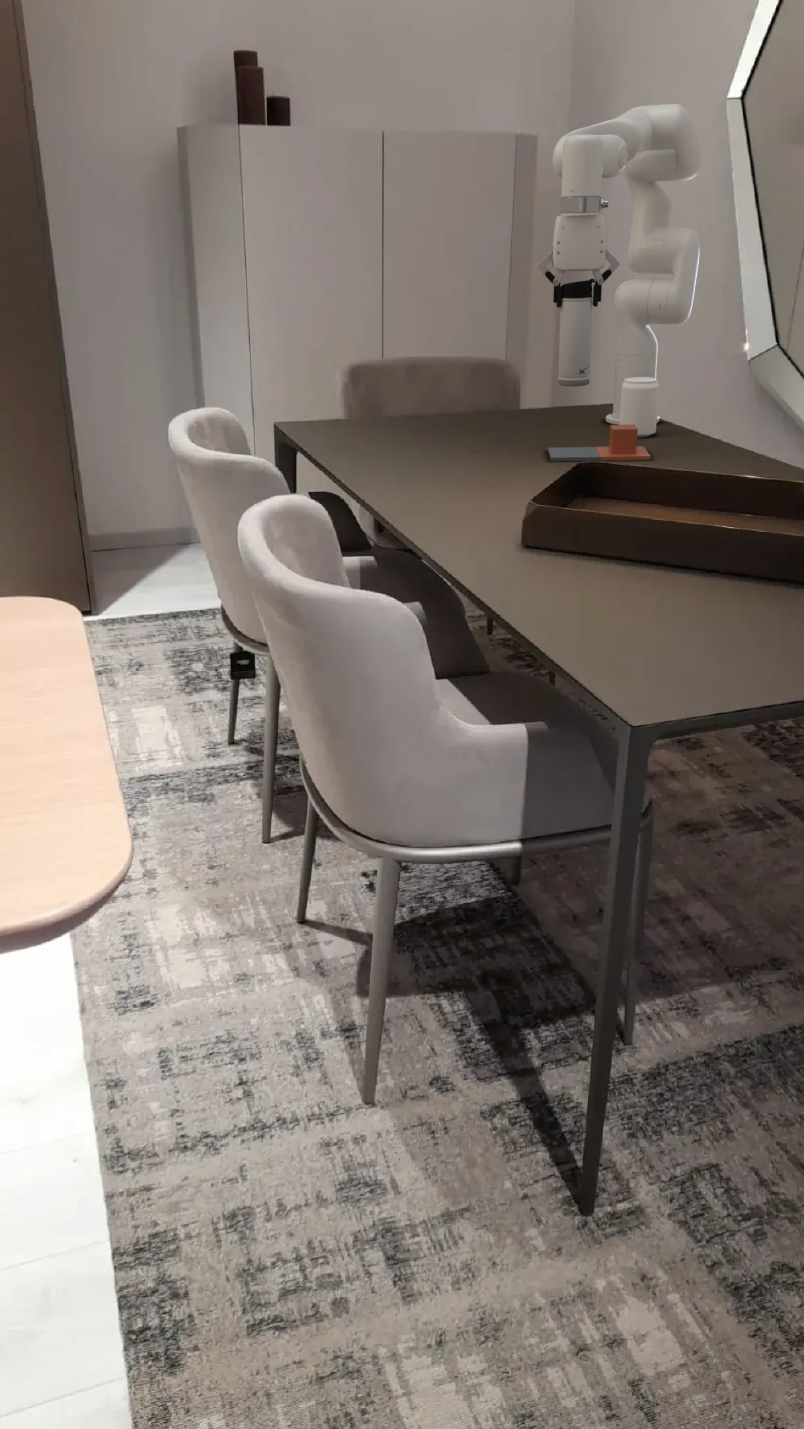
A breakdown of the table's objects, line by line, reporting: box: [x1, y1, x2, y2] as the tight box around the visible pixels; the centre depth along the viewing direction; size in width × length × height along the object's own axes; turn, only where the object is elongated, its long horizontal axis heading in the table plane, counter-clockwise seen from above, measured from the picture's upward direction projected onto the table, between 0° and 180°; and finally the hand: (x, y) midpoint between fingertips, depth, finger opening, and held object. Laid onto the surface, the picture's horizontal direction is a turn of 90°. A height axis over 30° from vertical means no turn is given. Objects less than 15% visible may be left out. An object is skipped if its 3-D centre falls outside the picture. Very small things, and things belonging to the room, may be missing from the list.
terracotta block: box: [608, 424, 638, 454], centre depth 227 cm, size 5×5×5 cm
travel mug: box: [557, 278, 596, 387], centre depth 221 cm, size 6×7×20 cm
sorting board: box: [547, 445, 651, 462], centre depth 228 cm, size 10×20×1 cm, turn 87°
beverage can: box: [619, 377, 660, 438], centre depth 245 cm, size 8×8×12 cm
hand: (576, 305), depth 218 cm, fingers closed on travel mug, 6 cm apart
